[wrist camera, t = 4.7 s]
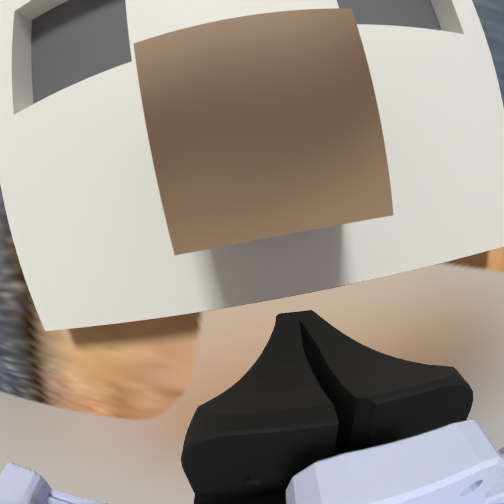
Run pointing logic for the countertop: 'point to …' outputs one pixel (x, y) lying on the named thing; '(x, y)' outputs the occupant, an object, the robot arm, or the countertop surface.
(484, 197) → the board
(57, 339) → the countertop surface
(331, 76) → the walnut block
